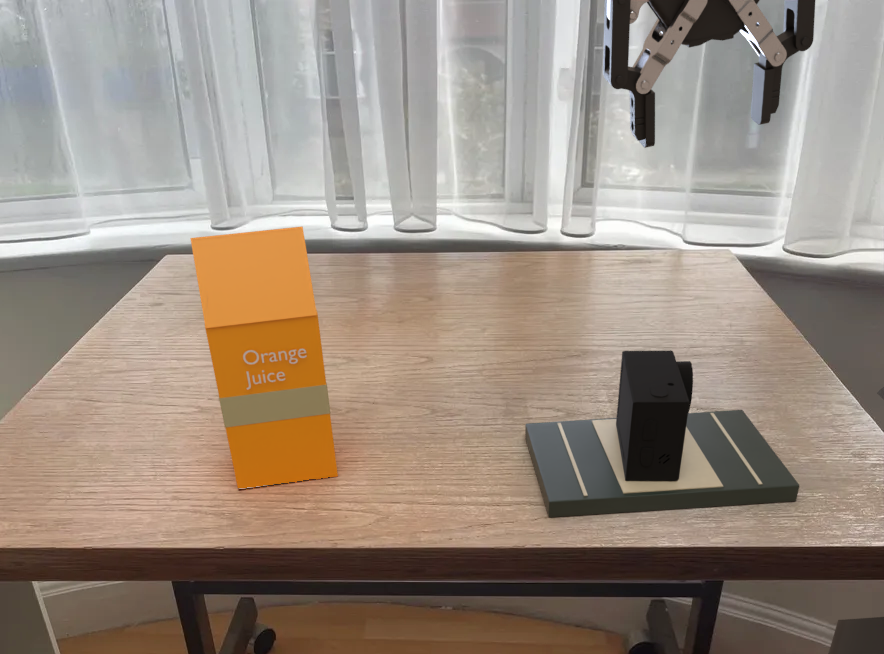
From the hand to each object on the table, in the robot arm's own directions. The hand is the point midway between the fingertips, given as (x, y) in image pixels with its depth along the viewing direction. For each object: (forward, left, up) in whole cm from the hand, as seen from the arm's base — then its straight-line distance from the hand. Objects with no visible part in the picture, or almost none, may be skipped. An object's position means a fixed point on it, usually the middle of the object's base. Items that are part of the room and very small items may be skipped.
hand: (703, 132), depth 67 cm
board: (+3, +6, -25) cm, 26 cm away
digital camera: (+3, +6, -24) cm, 24 cm away
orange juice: (+35, +1, -25) cm, 43 cm away
